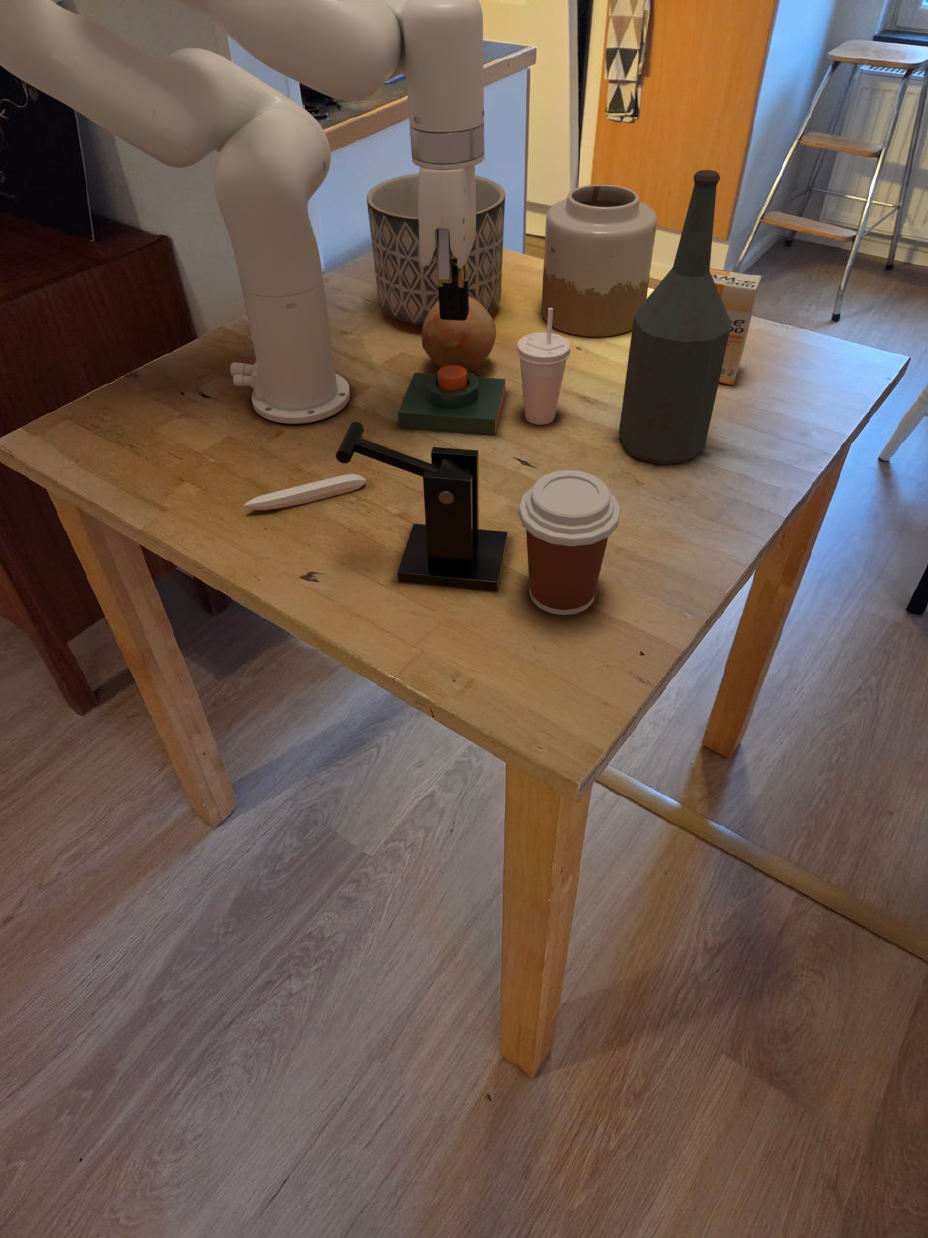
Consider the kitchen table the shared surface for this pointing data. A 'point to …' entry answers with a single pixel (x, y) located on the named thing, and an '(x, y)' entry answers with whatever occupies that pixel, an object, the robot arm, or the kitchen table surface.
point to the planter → (397, 253)
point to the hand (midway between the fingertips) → (454, 316)
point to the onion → (459, 337)
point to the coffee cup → (567, 538)
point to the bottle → (678, 346)
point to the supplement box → (736, 315)
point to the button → (452, 378)
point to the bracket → (453, 531)
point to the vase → (597, 260)
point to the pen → (307, 492)
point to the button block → (452, 405)
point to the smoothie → (542, 372)
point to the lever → (389, 454)
